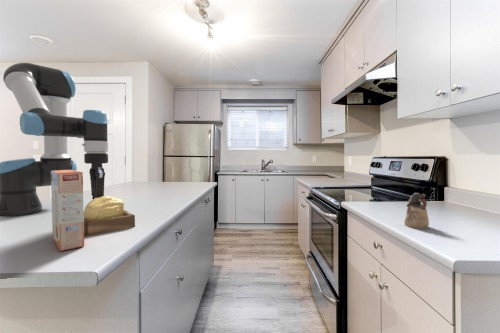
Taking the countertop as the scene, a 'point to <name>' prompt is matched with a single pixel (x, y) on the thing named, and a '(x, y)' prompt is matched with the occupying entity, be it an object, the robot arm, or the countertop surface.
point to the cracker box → (67, 209)
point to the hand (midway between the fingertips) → (98, 215)
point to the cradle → (109, 224)
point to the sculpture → (103, 208)
